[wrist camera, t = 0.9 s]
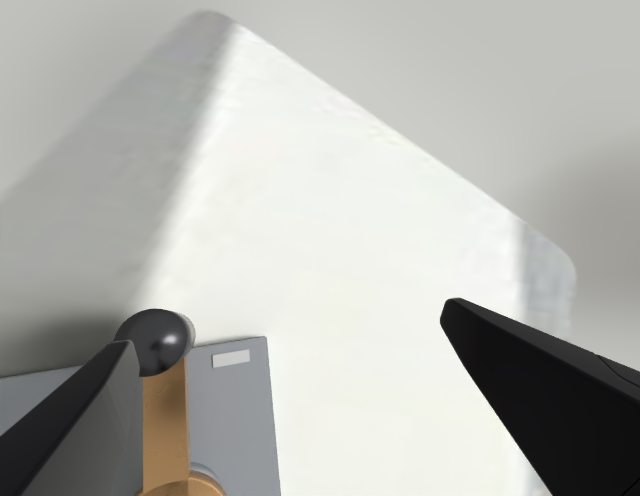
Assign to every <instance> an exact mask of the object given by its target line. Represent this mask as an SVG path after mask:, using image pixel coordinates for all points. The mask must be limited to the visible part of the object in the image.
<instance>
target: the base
mask: <svg viewBox="0 0 640 496" xmlns="http://www.w3.org/2000/svg"><path fill="white" fill-rule="evenodd" d="M82 366H83V365H80V366H73V367H67V368H61V369H54V370H48V371H41V372H35V373H29V374H22V375H16V376H10V377H3V378H0V436H1V435H2V434H3V433H4V432H5V431H7V430H8V429H9V428H10V427H11V426H13V425H14V424H15V423H16V422H17V421H18V420H20V419H21V418H22V417H23V416H24V415H25V414H27V413H28V412H29V411H30V410H31V409H33V408H34V407H35V406H36V405H37V404H38V403H40V402H41V401H42V400H43V399H44V398H45V397H47V396H48V395H49V394H50V393H51V392H53V391H54V390H55V389H56V388H57V387H58V386H60V385H61V384H62V383H63V382H64V381H66V380H67V379H68V378H69V377H70V376H71V375H73V374H74V373H75V372H76V371H77V370H78V369H80V368H81V367H82ZM187 367H188V397H189V428H190V458H191V470H195V471H199V472H202V473H205V474H207V475H209V476H211V477H212V478H214V479H215V480H216V481H217V482H218V483H219V484H220V485H221V486H222V488H223V489H224V491H225V492H226V494H227V496H281V491H280V480H279V469H278V458H277V447H276V436H275V424H274V413H273V402H272V391H271V380H270V369H269V358H268V347H267V337H258V338H251V339H245V340H239V341H232V342H226V343H220V344H213V345H207V346H201V347H194V348H192V349H191V350H190V352H189V353H188V354H187ZM142 487H143V377H139V378H138V384H137V389H136V395H135V400H134V406H133V411H132V417H131V423H130V428H129V433H128V438H127V442H126V446H125V449H124V453H123V456H122V460H121V463H120V466H119V470H118V473H117V477H116V480H115V483H114V487H113V490H112V493H111V496H133V495H134V494H135V493H136V492H137V491H138V490H139V489H140V488H142Z"/></svg>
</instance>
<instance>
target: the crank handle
mask: <svg viewBox="0 0 640 496" xmlns="http://www.w3.org/2000/svg"><path fill="white" fill-rule="evenodd" d="M123 340H131V341H132V342H133V344H134V348H135V351H136V355H137V358H138V362H139V367H140V371H139V377H143V487H142V488H140V489H139V490H138V491H137V492H136V493H135V494H134V495H133V496H227V494H226V492H225V491H224V489H223V488H222V486H221V485H220V484H219V483H218V482H217V481H216V480H215V479H214V478H212V477H211V476H209V475H207V474H205V473H202V472H199V471H195V470H191V458H190V428H189V397H188V367H187V354H188V353H189V352H190V350H191V349H192V347H193V345H194V342H195V328H194V326H193V324H192V322H191V321H190V319H189V318H187V317H186V316H185V315H183V314H180V313H177V312H172V311H168V310H163V309H148V310H144V311H141V312H138V313H136V314H134V315H133V316H131V317H130V318H128V319H127V320H126V321H125V322H124V323H123V324H122V325H121V327H120V328H119V330H118V332H117V333H116V336H115V339H114V342H115V341H123Z"/></svg>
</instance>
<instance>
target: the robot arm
mask: <svg viewBox="0 0 640 496" xmlns="http://www.w3.org/2000/svg"><path fill="white" fill-rule="evenodd" d="M440 324H441V327H442V329H443V330H444V332H445V334H446V336H447V337H448V339H449V341H450V343H451V345H452V346H453V348H454V350H455V352H456V353H457V355H458V357H459V359H460V360H461V362H462V364H463V366H464V367H465V369H466V370H467V372H468V373H469V375H470V376H471V378H472V379H473V381H474V382H475V384H476V385H477V387H478V388H479V389H480V391H481V392H482V394H483V395H484V397H485V398H486V400H487V401H488V403H489V404H490V406H491V407H492V408H493V410H494V411H495V413H496V414H497V416H498V417H499V419H500V420H501V422H502V423H503V424H504V426H505V427H506V429H507V430H508V432H509V433H510V435H511V436H512V438H513V439H514V441H515V442H516V443H517V445H518V446H519V448H520V449H521V451H522V452H523V454H524V455H525V457H526V458H527V459H528V461H529V462H530V464H531V465H532V467H533V468H534V470H535V471H536V473H537V474H538V475H539V477H540V478H541V480H542V481H543V483H544V484H545V486H546V487H547V489H548V490H549V491H550V493H551V494H552V496H640V372H639V371H637V370H635V369H632V368H630V367H627V366H625V365H622V364H619V363H617V362H615V361H612V360H610V359H607V358H605V357H603V356H600V355H595V354H594V353H593V352H590V351H588V350H585V349H583V348H581V347H578V346H576V345H573V344H571V343H568V342H566V341H564V340H561V339H559V338H556V337H554V336H552V335H549V334H547V333H544V332H542V331H539V330H537V329H535V328H532V327H530V326H527V325H525V324H522V323H520V322H518V321H515V320H513V319H510V318H508V317H506V316H503V315H501V314H498V313H496V312H493V311H491V310H489V309H486V308H484V307H481V306H479V305H476V304H474V303H472V302H469V301H467V300H464V299H462V298H451V299H448V300H447V301H446V302H445V304H444V308H443V311H442V314H441V317H440ZM139 371H140V367H139V362H138V358H137V355H136V351H135V348H134V344H133V342H132V341H131V340H123V341H115V342H111V343H109V344H108V345H107V346H106V347H104V348H103V349H102V350H101V351H100V352H98V353H97V354H96V355H95V356H94V357H93V358H91V359H90V360H89V361H88V362H87V363H86V364H84V365H83V366H82V367H81V368H80V369H78V370H77V371H76V372H75V373H74V374H73V375H71V376H70V377H69V378H68V379H67V380H66V381H64V382H63V383H62V384H61V385H60V386H58V387H57V388H56V389H55V390H54V391H53V392H51V393H50V394H49V395H48V396H47V397H45V398H44V399H43V400H42V401H41V402H40V403H38V404H37V405H36V406H35V407H34V408H33V409H31V410H30V411H29V412H28V413H27V414H25V415H24V416H23V417H22V418H21V419H20V420H18V421H17V422H16V423H15V424H14V425H13V426H11V427H10V428H9V429H8V430H7V431H5V432H4V433H3V434H2V435H1V436H0V496H111V493H112V490H113V487H114V483H115V480H116V477H117V473H118V470H119V466H120V463H121V460H122V456H123V453H124V449H125V446H126V442H127V438H128V433H129V428H130V423H131V417H132V411H133V406H134V400H135V395H136V389H137V384H138V378H139Z"/></svg>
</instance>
